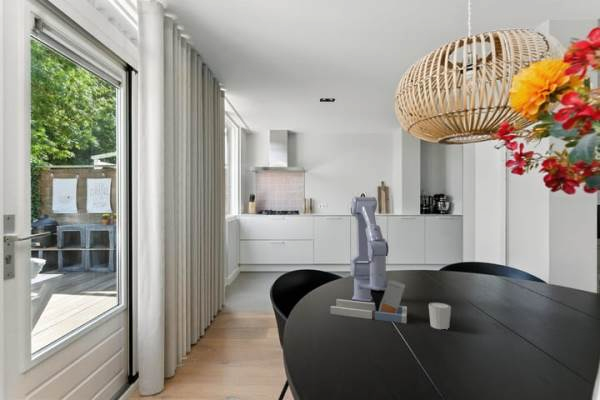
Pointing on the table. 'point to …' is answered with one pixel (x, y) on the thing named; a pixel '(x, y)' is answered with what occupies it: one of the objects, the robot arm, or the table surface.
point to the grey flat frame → (367, 311)
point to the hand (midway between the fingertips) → (377, 310)
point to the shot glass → (439, 315)
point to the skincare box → (392, 297)
